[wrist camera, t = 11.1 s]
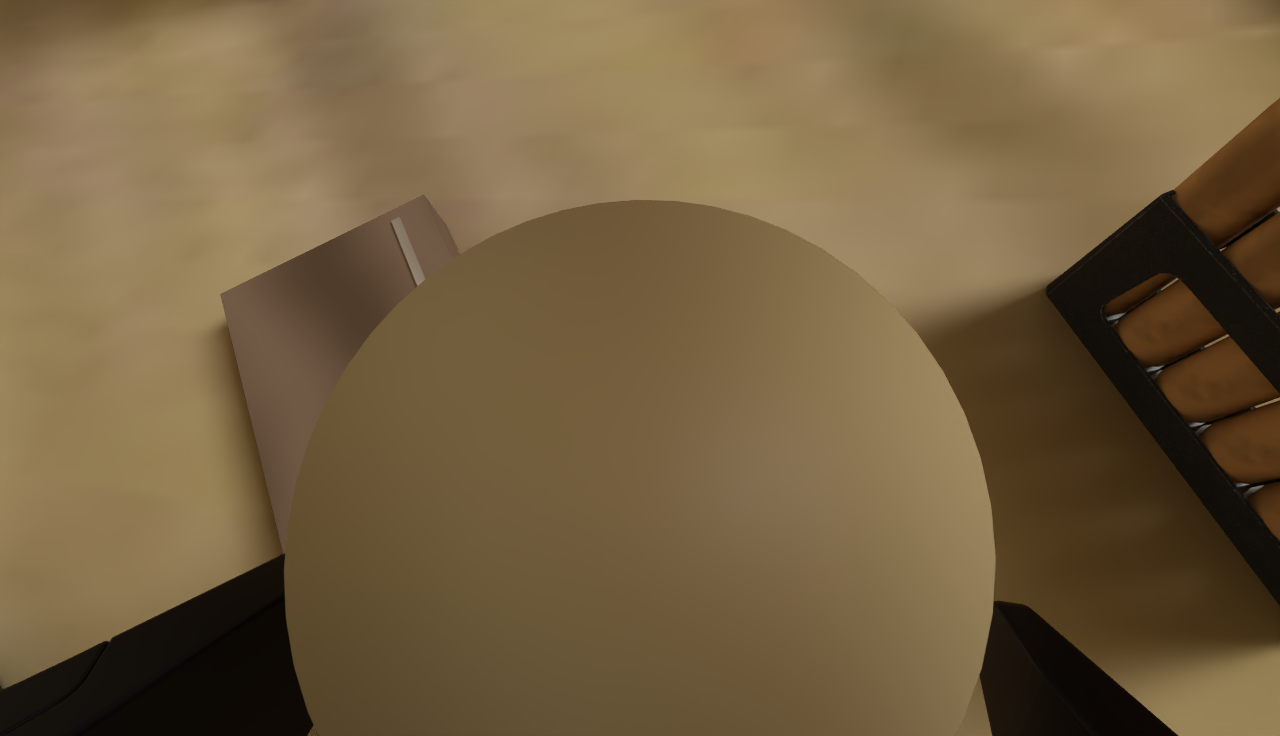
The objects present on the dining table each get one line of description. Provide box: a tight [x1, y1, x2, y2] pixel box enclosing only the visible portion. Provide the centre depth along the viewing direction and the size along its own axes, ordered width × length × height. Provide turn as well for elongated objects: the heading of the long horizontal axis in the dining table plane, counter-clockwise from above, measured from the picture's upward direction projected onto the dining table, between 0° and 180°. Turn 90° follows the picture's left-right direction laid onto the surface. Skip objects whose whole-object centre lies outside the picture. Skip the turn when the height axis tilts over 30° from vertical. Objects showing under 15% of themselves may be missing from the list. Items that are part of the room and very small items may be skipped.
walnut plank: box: [220, 195, 459, 554], centre depth 17 cm, size 8×20×2 cm, turn 27°
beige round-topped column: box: [284, 200, 996, 736], centre depth 10 cm, size 5×6×14 cm
